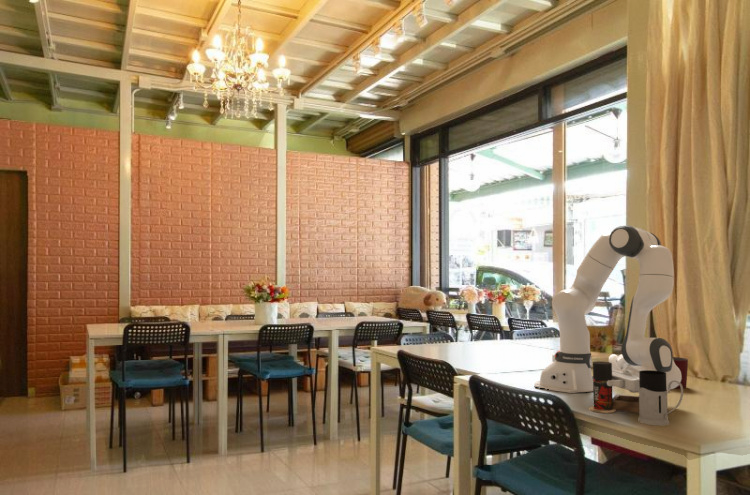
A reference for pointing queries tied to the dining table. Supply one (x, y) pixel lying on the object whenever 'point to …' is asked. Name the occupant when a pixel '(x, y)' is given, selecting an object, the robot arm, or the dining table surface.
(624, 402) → the holder frame
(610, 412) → the cork coaster
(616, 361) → the white lumpy blob
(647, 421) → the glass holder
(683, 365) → the mug
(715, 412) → the dining table surface
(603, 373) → the deodorant
